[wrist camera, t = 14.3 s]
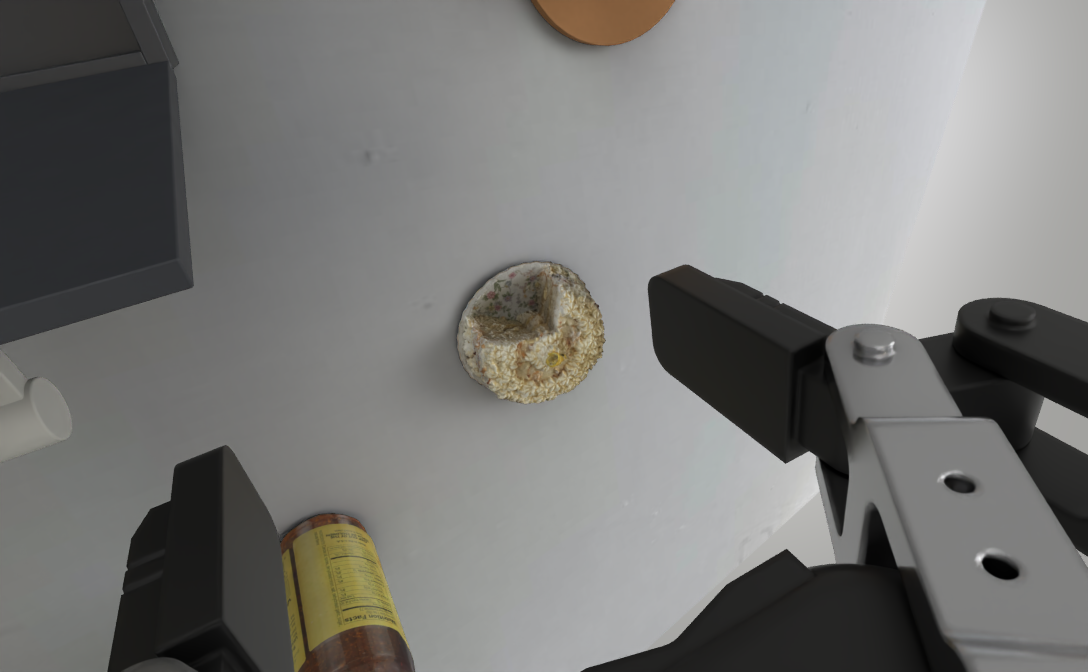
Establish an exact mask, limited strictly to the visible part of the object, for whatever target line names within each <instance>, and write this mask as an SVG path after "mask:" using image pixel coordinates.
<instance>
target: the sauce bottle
mask: <svg viewBox="0 0 1088 672" xmlns="http://www.w3.org/2000/svg"><path fill="white" fill-rule="evenodd" d="M280 546H281V554H282V563H283V572H284V581H285V590H286V599H287V608H288V617H289V626H290V635H291V644H292V653H293V662H294V671H295V672H415V668H414V661H413V658H412V655H411V652H410V649H409V646H408V643H407V640H406V637H405V634H404V632H403V629H402V626H401V623H400V620H399V617H398V614H397V611H396V608H395V605H394V603H393V600H392V597H391V594H390V591H389V588H388V585H387V582H386V579H385V576H384V573H383V570H382V567H381V564H380V561H379V558H378V555H377V552H376V549H375V546H374V543H373V541H372V539H371V538H370V536H369V535H368V534H367V532H366V531H365V528H364V527H363V526H362V525H361V523H360V522H359V521H358V520H356V519H354V518H352V517H349V516H345V515H342V514H333V513H332V514H319V515H317V516H315V517H313V518H311V519H308V520H306V521H305V522H303V523H301V524H300V525H298V526H296V527H295V528H294V529H292V530H291V531H290V532H289V533H287V535H286V536H285V537H284V538H283V540H282V542H281V544H280Z"/></svg>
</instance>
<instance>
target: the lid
mask: <svg viewBox="0 0 1088 672" xmlns="http://www.w3.org/2000/svg"><path fill="white" fill-rule="evenodd" d="M193 286H194V284H193V272H192V260H191V248H190V236H189V224H188V212H187V200H186V188H185V176H184V164H183V153H182V141H181V129H180V117H179V105H178V93H177V81H176V76H175V74H174V72H173V70H172V67H171V65H170V63H169V62H168V61H165V62H159V63H154V64H149V65H144V66H139V67H133V68H128V69H123V70H118V71H112V72H107V73H102V74H97V75H92V76H86V77H81V78H76V79H71V80H65V81H60V82H55V83H50V84H45V85H39V86H34V87H29V88H24V89H18V90H13V91H8V92H3V93H0V345H2V344H5V343H8V342H12V341H15V340H19V339H22V338H25V337H29V336H32V335H35V334H39V333H42V332H45V331H49V330H52V329H55V328H59V327H62V326H65V325H69V324H72V323H75V322H79V321H82V320H85V319H89V318H92V317H95V316H99V315H102V314H106V313H109V312H112V311H116V310H119V309H122V308H126V307H129V306H132V305H136V304H139V303H142V302H146V301H149V300H152V299H156V298H159V297H162V296H166V295H169V294H172V293H176V292H179V291H182V290H186V289H189V288H192V287H193ZM71 432H72V420H71V415H70V411H69V409H68V406H67V404H66V402H65V400H64V398H63V396H62V395H61V393H60V392H59V390H58V389H57V388H56V387H55V386H54V385H53V384H52V383H51V382H50V381H49V380H47V379H45V378H42V377H35V378H32V379H28V380H27V378H26V377H25V376H24V375H23V374H22V373H21V372H20V370H19V369H18V368H17V367H16V366H15V365H14V364H13V362H12V361H11V360H10V359H9V358H8V357H7V356H6V354H5V353H4V352H3V351H2V350H1V349H0V463H2V462H4V461H7V460H10V459H13V458H16V457H19V456H22V455H25V454H27V453H30V452H33V451H36V450H39V449H42V448H45V447H47V446H50V445H53V444H56V443H59V442H62V441H65V440H66V439H68V438H69V437H70V435H71Z"/></svg>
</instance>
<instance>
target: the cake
mask: <svg viewBox="0 0 1088 672" xmlns="http://www.w3.org/2000/svg"><path fill="white" fill-rule="evenodd" d="M598 307H599V305H597V304H596V303H595V301H594V300H593V299H592V298H591V295H590V292H589V291H588V290H587V289H586V287H585V283H584V282H583V281H582V280H580V279H579V277H578V275H577V274H575V273H573V272H572V271H571V270H570V269H569V268H565V267H563V266H562V265H560V264H555V263H554V264H553V263H552V262H541V263H540V262H539V261H533V262H531V263H522V264H519V265H517V266H513V267H510V268H508V270H507V269H506V270H504V271H501V272H499V273H498V274H497V275H496V276H495V277H494V278H491V279H489V280H488V281H487V282H486V283H485V285H484V286H483V287H482V288H480V289H479V290H478V291H477V292H476V294H475V295H474V297H472V299H471V300H470V301H469V303H468V305H467V307H466V309H465V310H464V311H463V314H462V319H461V322H460V324H459V326H458V327H459V333H458V335H457V341H458V345H457V349H458V351H459V355H460V360H461V362H462V364H463V367H464V368H465V370H466V371H467V372H468V374H469V376H471V378H474V379H475V380H477V382H478V384H481V385H484V387H486V388H489V389H490V391H493V392H494V393H495V394H496V395H497V398H499V399H507V400H509V401H511V402H515V401H516V402H517V403H523V404H528V403H537V404H538V403H540V402H545V400H547V401H549V400H553V399H555V398H556V396H558V395H560V394H564V393H567V392H569V391H571V390H573V389H574V388H575V387H576V385H579V384H580V383H579V382H580V381H583V380H584V379H585V378H586V377H587V374H588V369H590V370H592V366H593V365H595V364H596V363H597V359H598V358H602V354H601V353H602V352H603V349H602V346H603V343H605V341H606V340H605V339H604V333H603V332H604V326H603V325H602V324H604V323H603V321H602V320H601V318H602V315H601V313H600V310H599V309H598Z"/></svg>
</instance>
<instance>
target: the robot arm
mask: <svg viewBox="0 0 1088 672" xmlns="http://www.w3.org/2000/svg"><path fill="white" fill-rule="evenodd" d="M648 296H649V307H650V318H651V328H652V339H653V347H654V351H655V354H656V356H657V358H658V360H659V362H660V364H661V365H662V367H663V368H664V369H665V370H666V371H667V372H668V373H669V374H670V375H672V376H673V377H674V378H676V379H677V380H678V381H680V382H681V383H682V384H683V385H685V386H686V387H687V388H689V389H690V390H691V391H692V392H694V393H695V394H696V395H698V396H699V397H700V398H701V399H703V400H704V401H705V402H707V403H708V404H709V405H711V406H712V407H713V408H714V409H716V410H717V411H718V412H720V413H721V414H722V415H723V416H725V417H726V418H727V419H729V420H730V421H731V422H732V423H734V424H735V425H736V426H738V427H739V428H740V429H742V430H743V431H744V432H745V433H747V434H748V435H749V436H751V437H752V438H753V439H754V440H756V441H757V442H758V443H760V444H761V445H762V446H764V447H765V448H766V449H767V450H769V451H770V452H771V453H773V454H774V455H775V456H776V457H778V458H779V459H780V460H782V461H783V462H784V463H785V464H786V463H788V462H790V461H791V460H793V459H795V458H797V457H799V456H801V455H802V454H804V453H806V452H808V451H810V452H812V453H813V454H814V455H816V465H815V470H816V476H817V480H818V484H819V489H820V493H821V497H822V501H823V506H824V510H825V514H826V518H827V523H828V527H829V532H830V536H831V540H832V544H833V549H834V554H835V560H836V564H827V565H819V566H813V567H808V568H807V567H806V566H804V564H802V563H801V562H800V561H799V560H798V559H797V558H796V557H795V556H794V555H793V554H791V552H790V551H788V550H787V549H786V550H784V551H782V552H781V553H779V554H778V555H775V556H774V557H772V558H770V559H769V560H767V561H765V562H764V563H762V564H761V565H759V566H757V567H755V568H754V569H752V570H750V571H749V572H747V573H745V574H744V575H742V576H740V577H739V578H737V579H735V580H734V581H732V582H730V583H729V584H727V585H726V586H725V587H724V588H723V589H722V590H721V591H720V592H719V593H718V594H717V596H716V597H715V598H714V599H713V600H712V601H711V602H710V603H709V604H708V605H707V606H706V608H705V609H704V610H703V611H702V612H701V613H700V614H699V615H698V616H697V617H696V618H695V619H694V621H693V622H692V623H691V624H690V625H689V626H688V627H687V628H686V629H685V630H684V631H683V633H682V634H681V635H680V636H679V637H678V638H677V639H676V640H674V641H673V642H671V643H670V644H667V645H665V646H662V647H658V648H655V649H651V650H648V651H644V652H641V653H638V654H634V655H631V656H627V657H624V658H620V659H617V660H613V661H610V662H606V663H603V664H600V665H596V666H593V667H589V668H586V669H584V670H583V671H581V672H1088V567H1087V566H1086V565H1085V563H1084V561H1083V560H1082V558H1081V556H1080V555H1079V553H1078V551H1080V552H1082V553H1083V554H1085V555H1086V556H1088V455H1087V454H1085V453H1083V452H1081V451H1079V450H1077V449H1076V448H1074V447H1072V446H1070V445H1068V444H1066V443H1064V442H1062V441H1060V440H1059V439H1057V438H1055V437H1053V436H1051V435H1049V434H1048V433H1046V432H1044V431H1042V430H1040V429H1038V428H1036V427H1035V425H1036V422H1037V419H1038V415H1039V413H1040V410H1041V406H1042V403H1043V400H1044V397H1045V398H1048V399H1049V400H1051V401H1053V402H1055V403H1058V404H1060V405H1062V406H1064V407H1066V408H1068V409H1070V410H1072V411H1074V412H1076V413H1078V414H1080V415H1082V416H1084V417H1086V418H1088V323H1087V322H1085V321H1082V320H1080V319H1077V318H1074V317H1072V316H1069V315H1066V314H1063V313H1061V312H1058V311H1055V310H1053V309H1050V308H1047V307H1045V306H1042V305H1039V304H1036V303H1032V302H1028V301H1024V300H1018V299H1010V298H987V299H980V300H975V301H973V302H969V303H967V304H965V305H964V306H963V307H961V309H960V310H959V312H958V317H957V321H956V326H955V331H954V332H953V333H948V334H943V335H938V336H933V337H928V338H923V339H917V338H916V337H914V336H912V335H911V334H909V333H907V332H905V331H903V330H900V329H897V328H893V327H890V326H885V325H878V324H857V325H850V326H846V327H843V328H840V329H838V330H837V329H835V328H833V327H831V326H829V325H827V324H825V323H823V322H821V321H819V320H817V319H815V318H813V317H810V316H808V315H806V314H804V313H802V312H800V311H798V310H796V309H794V308H792V307H790V306H788V305H786V304H784V303H783V304H780V303H779V301H778V300H776V299H774V298H772V297H770V296H768V295H765V296H763V293H762V292H760V291H758V290H755V289H753V288H751V287H749V286H747V285H745V284H743V283H740V282H735V281H730V280H725V279H720V278H714V277H712V276H710V275H708V274H706V273H704V272H702V271H700V270H698V269H696V268H694V267H692V266H690V265H682V266H679V267H677V268H674V269H672V270H669V271H666V272H664V273H661V274H659V275H656V276H654V277H652V278H651V279H650V281H649V284H648ZM1076 549H1077V550H1078V551H1077V550H1076ZM127 568H128V571H126V572H125V577H124V583H123V588H122V590H123V592H124V594H123V595H121V599H120V605H119V611H118V616H117V622H116V627H115V633H114V638H113V644H112V650H111V655H110V661H109V666H108V672H295V671H294V662H293V653H292V644H291V635H290V626H289V617H288V608H287V599H286V590H285V581H284V572H283V563H282V554H281V546H280V541H279V537H278V533H277V530H276V527H275V525H274V522H273V520H272V518H271V515H270V513H269V511H268V510H267V508H266V506H265V505H264V503H263V501H262V499H261V498H260V496H259V494H258V493H257V491H256V489H255V488H254V486H253V484H252V483H251V481H250V479H249V477H248V476H247V474H246V472H245V471H244V469H243V467H242V466H241V464H240V462H239V461H238V459H237V457H236V456H235V454H234V453H233V451H232V450H231V449H230V448H229V447H228V446H226V445H224V446H222V447H219V448H217V449H214V450H212V451H209V452H207V453H204V454H202V455H199V456H196V457H194V458H191V459H189V460H186V461H184V462H181V463H179V464H177V465H176V466H175V468H174V475H173V484H172V493H171V501H169V502H166V503H164V504H162V505H159V506H157V507H154V508H152V509H150V511H149V512H148V514H147V515H146V517H145V518H144V520H143V521H142V523H141V525H140V526H139V528H138V529H137V531H136V532H135V534H134V535H133V537H132V538H131V544H130V549H129V555H128V560H127Z"/></svg>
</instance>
